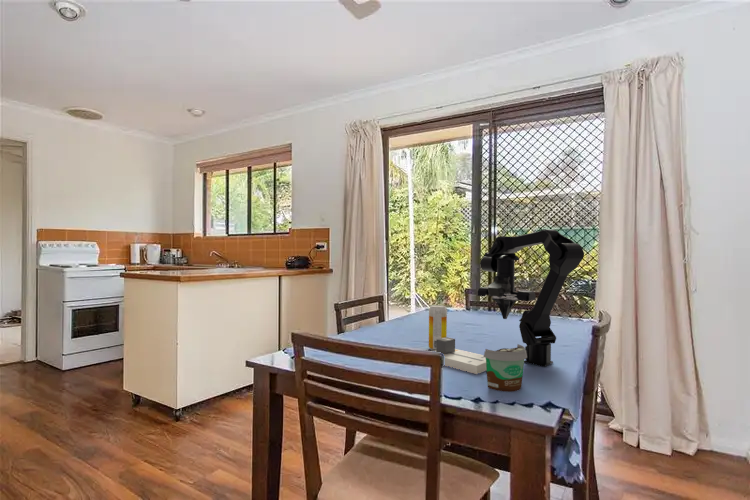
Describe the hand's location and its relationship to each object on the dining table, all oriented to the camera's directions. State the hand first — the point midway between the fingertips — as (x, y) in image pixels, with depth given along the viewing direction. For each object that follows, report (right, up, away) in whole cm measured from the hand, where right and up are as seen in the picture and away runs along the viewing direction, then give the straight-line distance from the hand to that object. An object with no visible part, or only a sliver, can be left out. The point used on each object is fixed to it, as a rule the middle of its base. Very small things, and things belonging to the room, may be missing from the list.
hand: (504, 318), depth 138 cm
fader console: (-18, -11, -15) cm, 26 cm away
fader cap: (-22, -9, -11) cm, 26 cm away
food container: (-10, -12, -36) cm, 39 cm away
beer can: (-23, -11, +2) cm, 25 cm away
